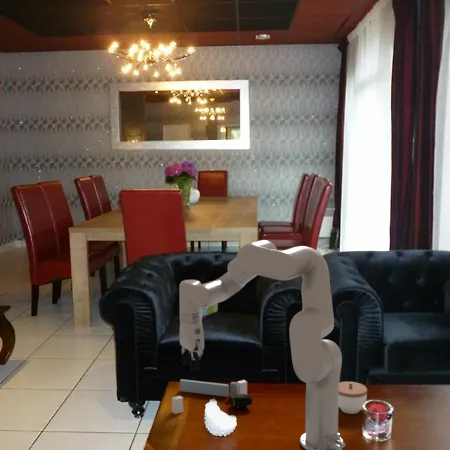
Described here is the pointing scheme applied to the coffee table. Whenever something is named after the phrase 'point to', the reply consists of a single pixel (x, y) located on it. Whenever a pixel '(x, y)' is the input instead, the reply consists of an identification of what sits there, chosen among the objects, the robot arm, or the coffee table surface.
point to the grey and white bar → (234, 389)
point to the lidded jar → (351, 397)
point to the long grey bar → (204, 387)
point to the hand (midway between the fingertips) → (191, 367)
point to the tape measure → (240, 400)
